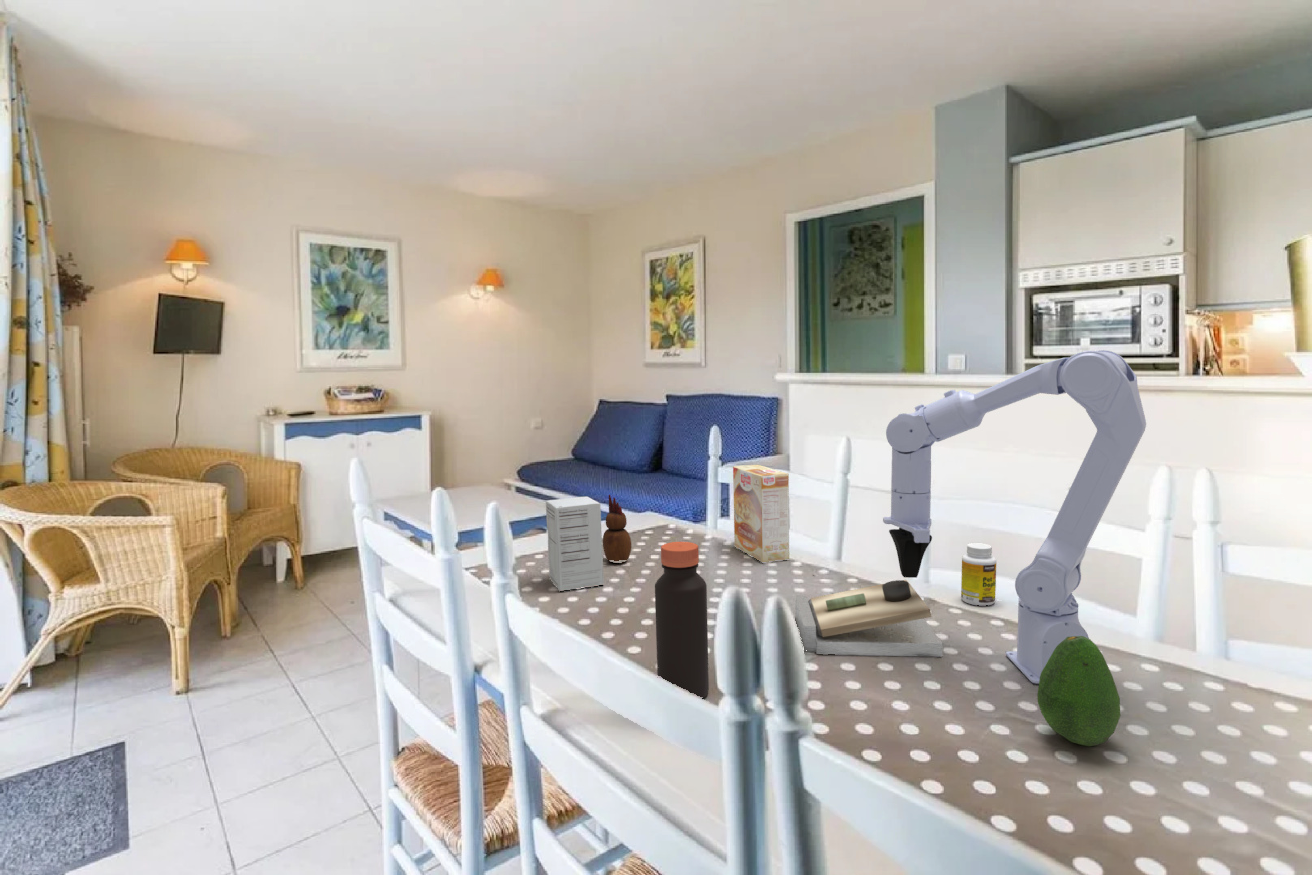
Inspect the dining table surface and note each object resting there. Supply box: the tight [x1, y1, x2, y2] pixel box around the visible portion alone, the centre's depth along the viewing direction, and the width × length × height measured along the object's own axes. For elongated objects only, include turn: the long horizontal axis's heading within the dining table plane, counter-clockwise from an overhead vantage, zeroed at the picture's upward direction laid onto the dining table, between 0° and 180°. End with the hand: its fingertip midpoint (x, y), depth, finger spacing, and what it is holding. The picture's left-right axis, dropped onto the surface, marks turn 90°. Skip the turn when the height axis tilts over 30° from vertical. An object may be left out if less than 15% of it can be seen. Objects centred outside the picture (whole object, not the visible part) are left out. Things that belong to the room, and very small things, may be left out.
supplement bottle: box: [960, 542, 997, 607], centre depth 123 cm, size 6×6×10 cm
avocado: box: [1036, 636, 1121, 747], centre depth 78 cm, size 8×8×12 cm
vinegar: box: [654, 541, 710, 699], centre depth 91 cm, size 7×7×20 cm
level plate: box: [808, 579, 932, 637], centre depth 109 cm, size 14×17×3 cm
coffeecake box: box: [732, 464, 790, 563], centre depth 157 cm, size 15×7×20 cm, turn 17°
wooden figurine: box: [602, 494, 632, 561], centre depth 154 cm, size 7×6×15 cm
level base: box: [794, 594, 944, 658], centre depth 110 cm, size 16×20×4 cm
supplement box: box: [545, 496, 605, 591], centre depth 140 cm, size 10×9×17 cm
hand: (909, 576), depth 108 cm, fingers closed
